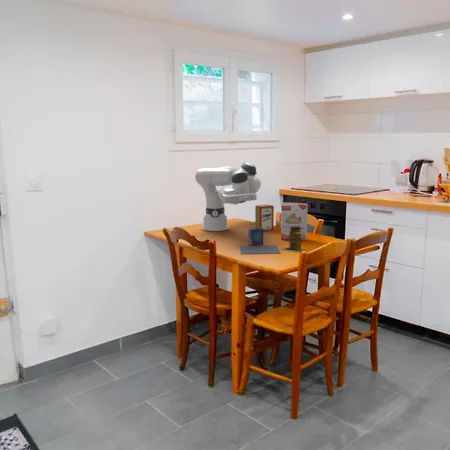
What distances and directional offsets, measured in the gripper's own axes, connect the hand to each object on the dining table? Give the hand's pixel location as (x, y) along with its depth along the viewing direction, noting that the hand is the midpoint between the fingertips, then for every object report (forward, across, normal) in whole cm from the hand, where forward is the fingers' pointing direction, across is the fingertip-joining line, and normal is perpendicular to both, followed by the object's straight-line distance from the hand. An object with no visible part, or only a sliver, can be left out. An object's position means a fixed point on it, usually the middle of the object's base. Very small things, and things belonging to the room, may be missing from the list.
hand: (245, 199), depth 263 cm
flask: (+11, 0, -24) cm, 27 cm away
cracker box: (+9, -26, -24) cm, 37 cm away
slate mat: (+22, +4, -24) cm, 32 cm away
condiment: (+29, -12, -24) cm, 40 cm away
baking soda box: (-23, -26, -24) cm, 42 cm away
